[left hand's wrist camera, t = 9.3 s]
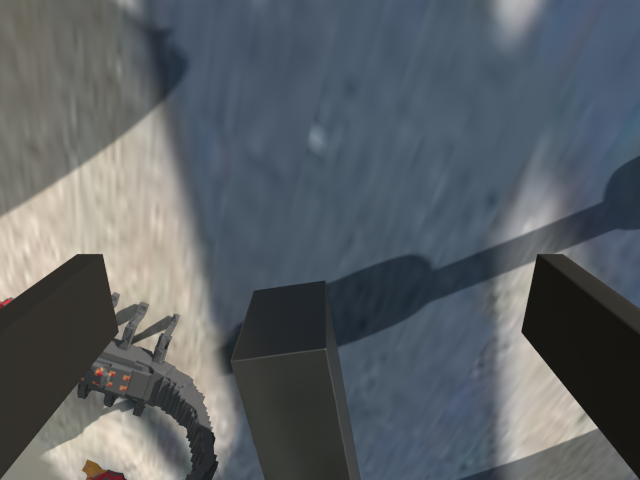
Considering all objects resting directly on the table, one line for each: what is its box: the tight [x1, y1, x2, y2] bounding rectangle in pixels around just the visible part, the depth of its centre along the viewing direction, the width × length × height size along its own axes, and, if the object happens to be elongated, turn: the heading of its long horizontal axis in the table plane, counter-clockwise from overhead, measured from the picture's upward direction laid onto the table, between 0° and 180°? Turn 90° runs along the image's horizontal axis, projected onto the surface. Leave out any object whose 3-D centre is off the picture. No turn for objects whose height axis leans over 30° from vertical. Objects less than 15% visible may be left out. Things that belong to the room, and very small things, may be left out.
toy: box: [0, 293, 218, 480], centre depth 38 cm, size 13×27×18 cm, turn 67°
